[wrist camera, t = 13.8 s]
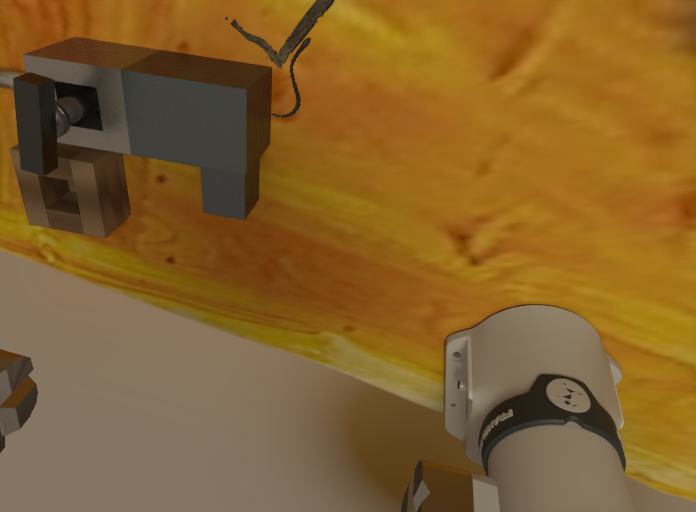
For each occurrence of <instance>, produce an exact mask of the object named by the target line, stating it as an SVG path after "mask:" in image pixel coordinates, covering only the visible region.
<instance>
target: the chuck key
mask: <svg viewBox="0 0 696 512" xmlns="http://www.w3.org/2000/svg"><path fill="white" fill-rule="evenodd" d="M13 85H14V97H15V108H16V120H17V132H18V143H19V155H20V166H21V170H24V171H28V172H31V173H34V174H37V175H41V176H45V175H47V174H49V173H50V172H52V171H53V170H55V169H57V168H58V151H57V138H59V137H61V136H63V135H65V134H66V133H68V131H69V130H70V126H71V124H73V123H75V122H77V121H79V120H81V119H83V118H85V117H87V116H88V115H90V114H92V113H94V112H96V111H98V110H100V107H99V101H98V94H97V88H96V87H90V86H88V87H85V88H83V89H81V90H79V91H76V92H74V93H72V94H70V95H67V96H65V97H63V98H61V99H59V100H56V101H55V82H54V79H51V78H48V77H44V76H41V75H38V74H35V73H31V72H29V73H26V74H23V75H20V76H17V77H15V78H13Z"/></svg>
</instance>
